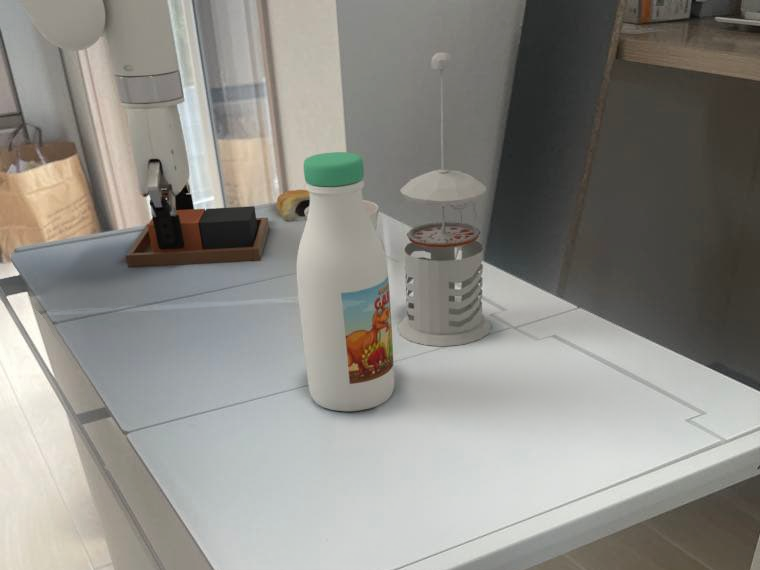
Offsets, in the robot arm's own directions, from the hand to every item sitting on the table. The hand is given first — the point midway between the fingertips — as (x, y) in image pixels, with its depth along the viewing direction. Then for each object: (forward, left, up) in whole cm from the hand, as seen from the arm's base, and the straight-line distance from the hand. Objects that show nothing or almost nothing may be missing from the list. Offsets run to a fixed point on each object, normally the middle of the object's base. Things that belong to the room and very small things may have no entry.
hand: (178, 236), depth 110 cm
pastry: (+15, +14, -2) cm, 21 cm away
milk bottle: (+23, -44, -2) cm, 50 cm away
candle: (+22, -7, -2) cm, 23 cm away
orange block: (0, 0, -1) cm, 2 cm away
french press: (+33, -29, -2) cm, 44 cm away
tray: (+3, 0, -2) cm, 3 cm away
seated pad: (+7, 0, -1) cm, 7 cm away
